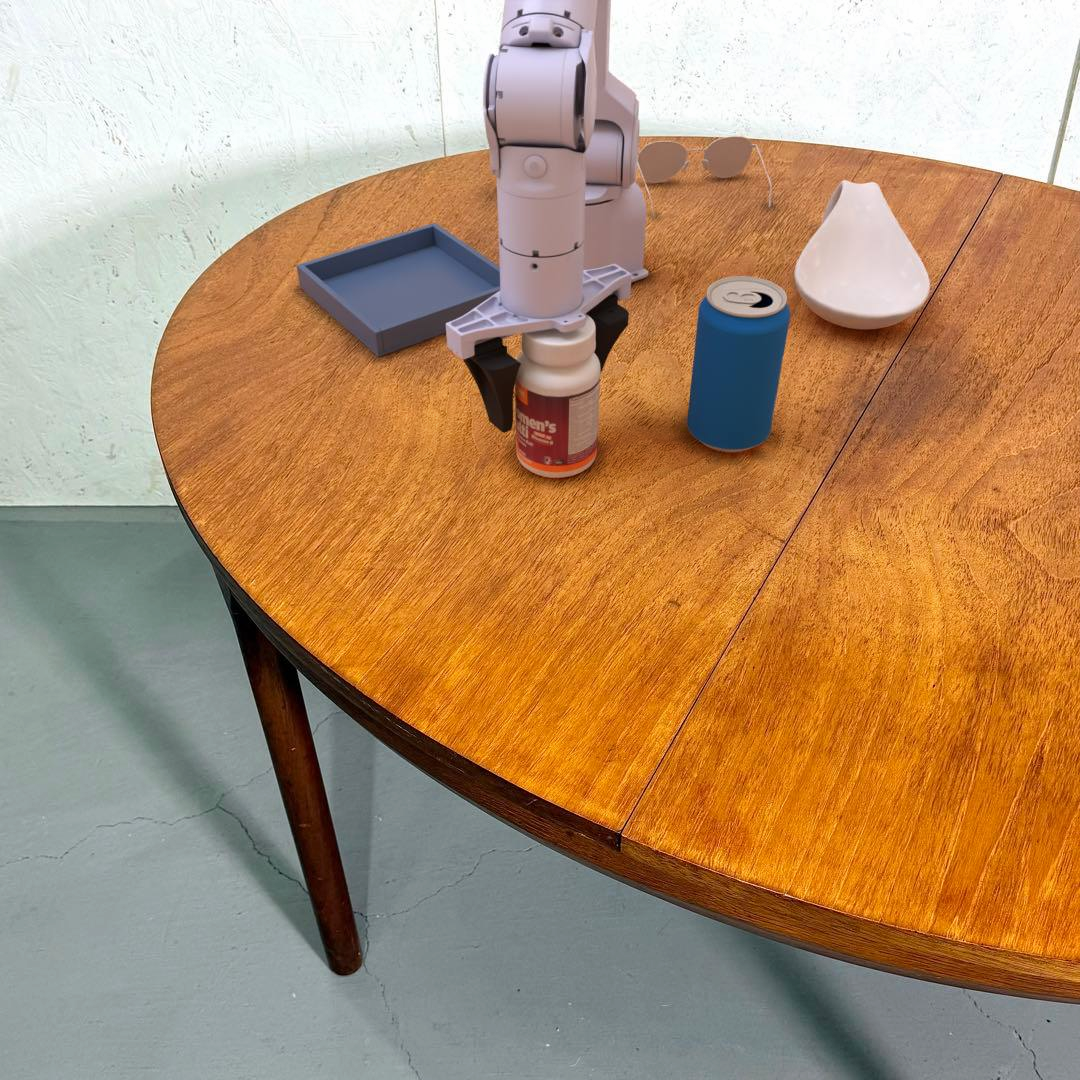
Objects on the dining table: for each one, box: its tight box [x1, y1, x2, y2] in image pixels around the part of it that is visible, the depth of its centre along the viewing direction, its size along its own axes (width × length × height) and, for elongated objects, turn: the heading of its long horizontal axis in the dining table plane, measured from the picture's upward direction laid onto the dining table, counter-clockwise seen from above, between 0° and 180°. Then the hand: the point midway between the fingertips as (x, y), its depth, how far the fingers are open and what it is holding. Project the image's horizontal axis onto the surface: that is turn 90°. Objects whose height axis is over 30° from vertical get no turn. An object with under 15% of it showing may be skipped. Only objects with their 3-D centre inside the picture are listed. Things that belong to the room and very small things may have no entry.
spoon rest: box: [793, 179, 931, 330], centre depth 98 cm, size 24×12×7 cm, turn 172°
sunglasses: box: [637, 135, 773, 217], centre depth 114 cm, size 14×8×5 cm, turn 99°
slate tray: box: [295, 222, 500, 358], centre depth 99 cm, size 15×15×2 cm
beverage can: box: [686, 275, 791, 453], centre depth 79 cm, size 6×6×12 cm
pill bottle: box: [514, 314, 602, 479], centre depth 77 cm, size 6×6×11 cm
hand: (542, 407), depth 80 cm, fingers open, 7 cm apart
